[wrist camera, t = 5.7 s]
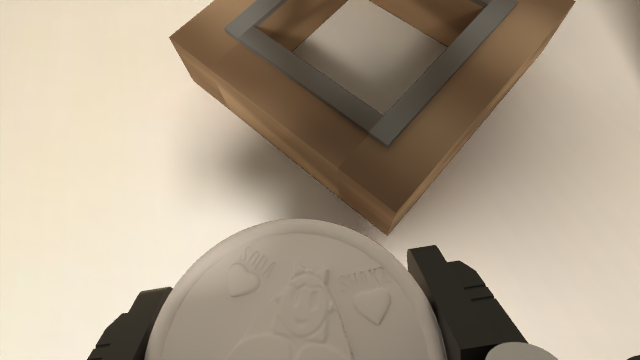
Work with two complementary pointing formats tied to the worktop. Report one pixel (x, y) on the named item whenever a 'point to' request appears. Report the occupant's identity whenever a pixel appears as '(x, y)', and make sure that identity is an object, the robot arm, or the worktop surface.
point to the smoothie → (296, 300)
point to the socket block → (350, 112)
